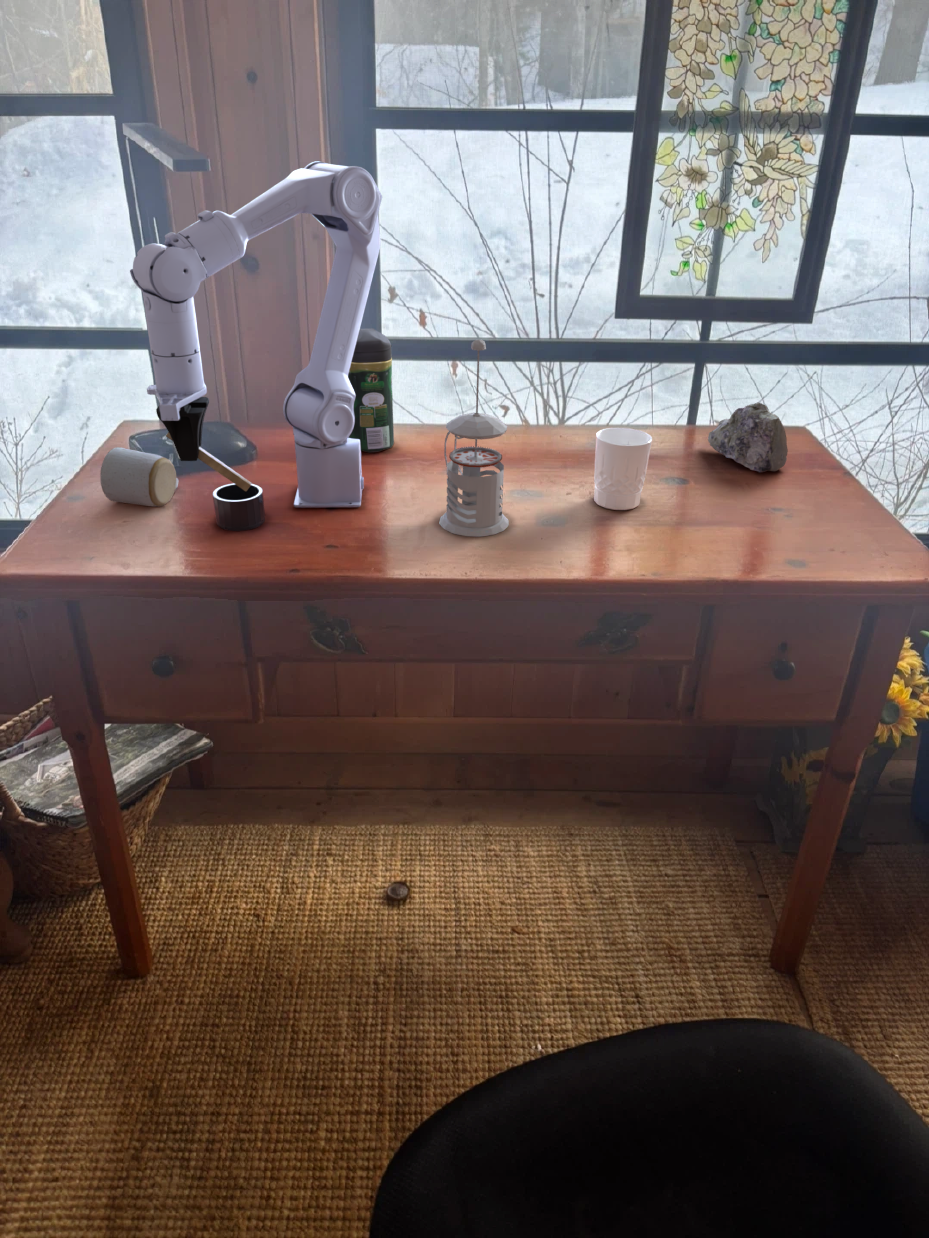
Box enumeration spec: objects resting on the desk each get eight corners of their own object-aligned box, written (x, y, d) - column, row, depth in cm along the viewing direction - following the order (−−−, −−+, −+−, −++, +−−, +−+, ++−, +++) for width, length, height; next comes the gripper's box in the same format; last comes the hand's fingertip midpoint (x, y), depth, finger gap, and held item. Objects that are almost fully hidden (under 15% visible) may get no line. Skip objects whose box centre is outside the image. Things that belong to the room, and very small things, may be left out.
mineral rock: (703, 446, 156) (712, 388, 151) (765, 447, 156) (777, 389, 151) (722, 473, 145) (733, 412, 140) (789, 475, 145) (802, 413, 140)
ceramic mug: (156, 515, 127) (148, 463, 123) (103, 509, 128) (94, 456, 125) (193, 489, 136) (187, 439, 132) (143, 483, 137) (135, 433, 134)
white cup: (649, 497, 136) (658, 432, 131) (635, 516, 130) (643, 449, 125) (599, 487, 139) (605, 424, 134) (582, 506, 133) (588, 440, 128)
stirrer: (252, 489, 121) (247, 428, 116) (251, 491, 120) (246, 430, 116) (174, 488, 120) (166, 427, 116) (172, 490, 119) (164, 429, 115)
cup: (268, 511, 129) (265, 482, 127) (262, 530, 123) (259, 501, 121) (220, 511, 129) (217, 483, 127) (212, 531, 123) (208, 501, 121)
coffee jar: (342, 436, 157) (336, 325, 148) (388, 433, 159) (385, 324, 149) (349, 455, 149) (344, 340, 139) (397, 452, 151) (395, 338, 141)
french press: (462, 542, 122) (466, 353, 109) (419, 511, 130) (418, 332, 117) (523, 527, 126) (533, 343, 113) (477, 498, 135) (482, 324, 122)
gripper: (156, 336, 117) (171, 439, 124) (126, 367, 104) (144, 479, 111) (212, 337, 117) (224, 439, 124) (189, 367, 105) (203, 478, 111)
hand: (190, 458), depth 118 cm, fingers closed on stirrer, 1 cm apart
